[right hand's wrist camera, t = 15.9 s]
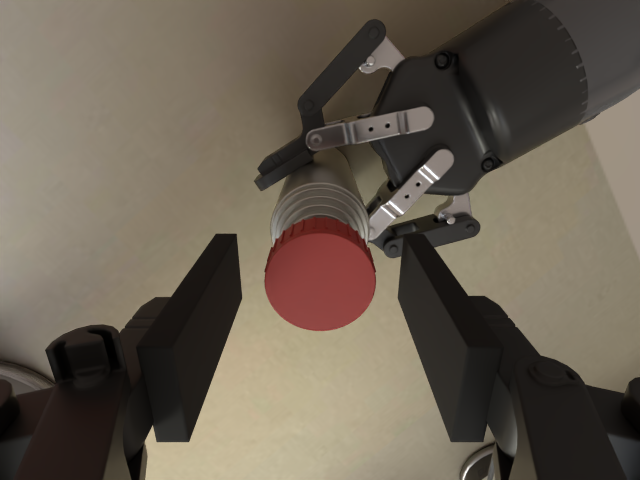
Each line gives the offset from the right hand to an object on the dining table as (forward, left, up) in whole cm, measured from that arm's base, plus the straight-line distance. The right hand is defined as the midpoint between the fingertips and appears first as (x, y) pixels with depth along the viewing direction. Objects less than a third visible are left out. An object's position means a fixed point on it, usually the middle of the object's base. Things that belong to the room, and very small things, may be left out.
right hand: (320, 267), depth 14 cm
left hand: (-1, +2, -10) cm, 10 cm away
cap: (0, 0, +1) cm, 1 cm away
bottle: (0, 0, -16) cm, 16 cm away
